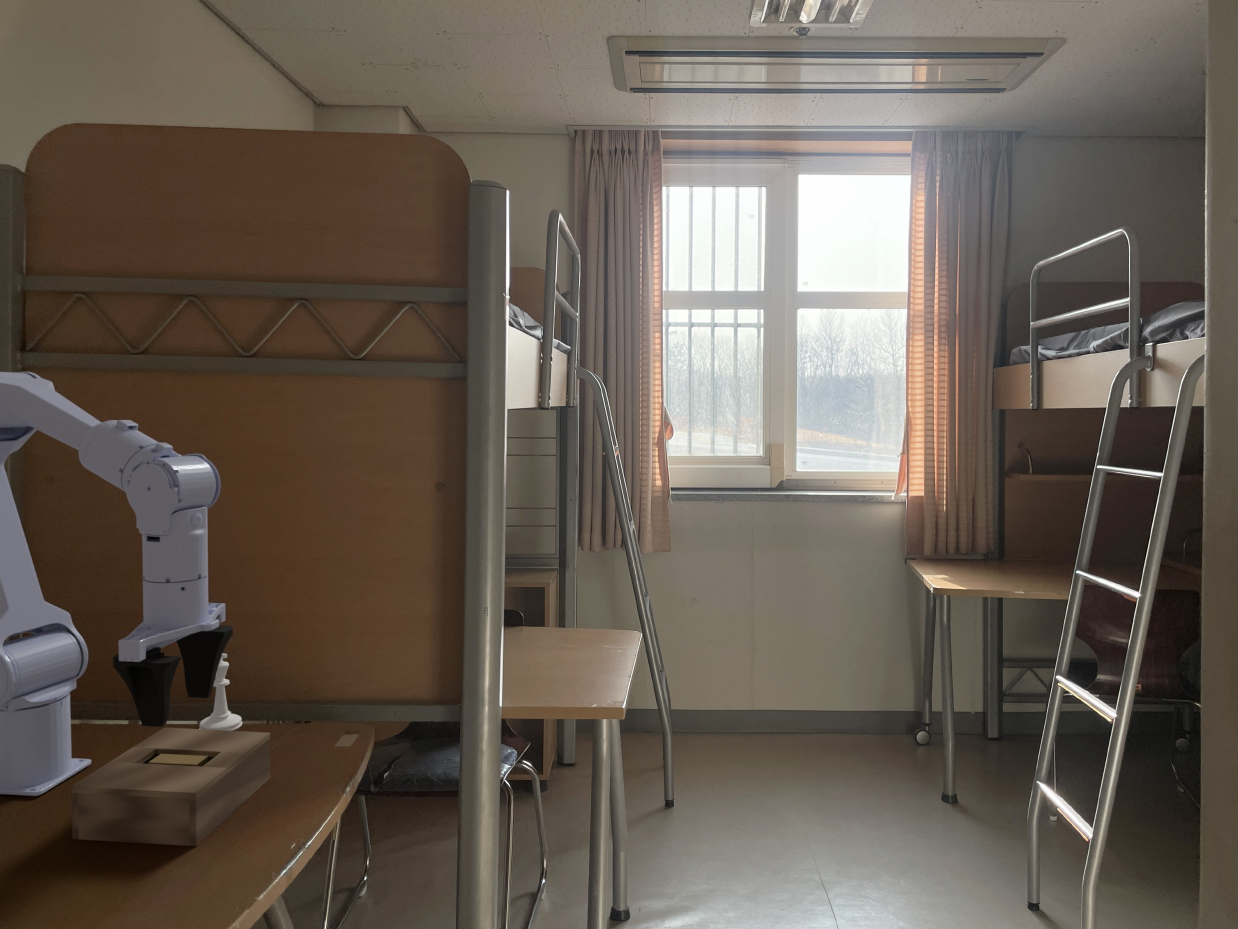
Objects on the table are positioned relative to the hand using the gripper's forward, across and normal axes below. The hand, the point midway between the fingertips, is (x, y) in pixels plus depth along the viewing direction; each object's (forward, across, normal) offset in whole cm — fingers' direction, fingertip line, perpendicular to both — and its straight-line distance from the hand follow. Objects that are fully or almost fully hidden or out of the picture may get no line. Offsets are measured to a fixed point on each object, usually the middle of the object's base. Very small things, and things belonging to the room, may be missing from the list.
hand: (177, 710), depth 82 cm
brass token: (+10, 0, 0) cm, 10 cm away
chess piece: (+10, +20, +7) cm, 24 cm away
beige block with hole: (+10, 0, 0) cm, 10 cm away
